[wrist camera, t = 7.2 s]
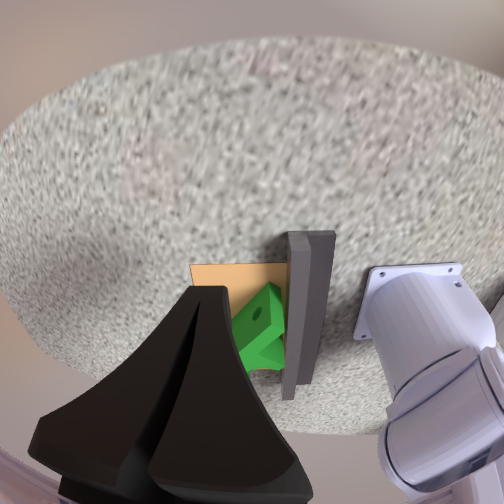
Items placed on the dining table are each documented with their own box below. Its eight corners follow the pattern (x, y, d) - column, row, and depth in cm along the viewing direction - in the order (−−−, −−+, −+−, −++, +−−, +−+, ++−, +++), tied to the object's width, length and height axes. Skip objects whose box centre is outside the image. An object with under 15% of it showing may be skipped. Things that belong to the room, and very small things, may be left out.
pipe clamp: (229, 366, 27) (225, 405, 23) (196, 352, 26) (189, 391, 22) (306, 302, 22) (313, 347, 18) (269, 280, 21) (271, 326, 17)
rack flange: (334, 230, 19) (343, 249, 17) (310, 379, 28) (312, 398, 26) (184, 234, 19) (175, 253, 17) (216, 381, 29) (214, 400, 26)
